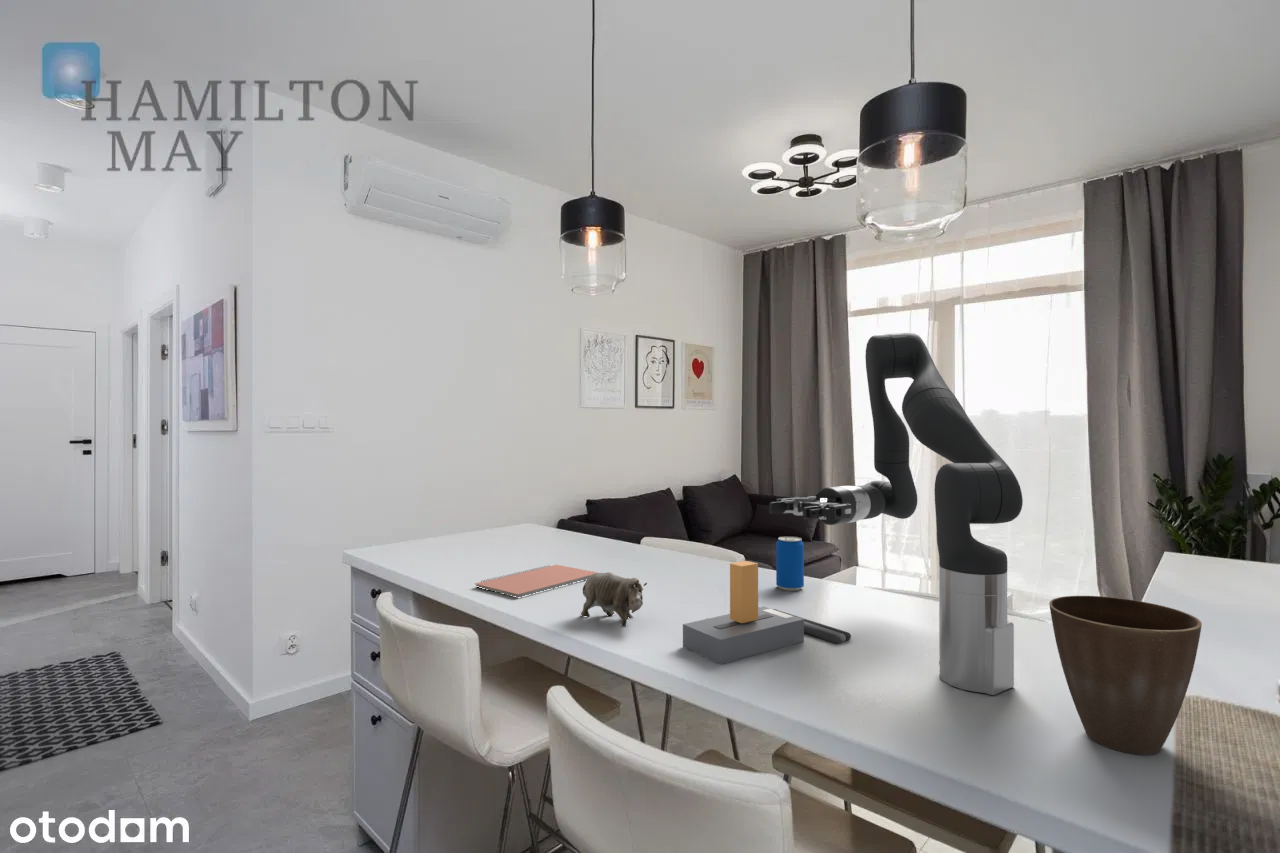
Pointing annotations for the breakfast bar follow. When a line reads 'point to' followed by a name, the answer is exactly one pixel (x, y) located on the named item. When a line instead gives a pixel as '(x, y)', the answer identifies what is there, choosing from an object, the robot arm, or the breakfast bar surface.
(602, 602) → the rhinoceros figurine
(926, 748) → the breakfast bar surface
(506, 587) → the notebook
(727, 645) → the breaker box
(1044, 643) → the breakfast bar surface
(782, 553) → the beverage can
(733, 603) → the handle
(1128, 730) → the plant pot
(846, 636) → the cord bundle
